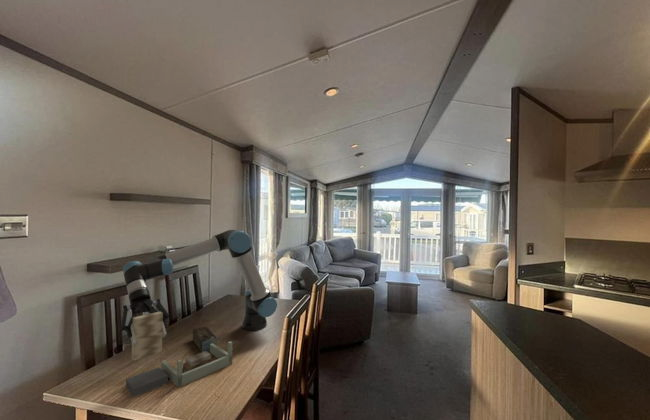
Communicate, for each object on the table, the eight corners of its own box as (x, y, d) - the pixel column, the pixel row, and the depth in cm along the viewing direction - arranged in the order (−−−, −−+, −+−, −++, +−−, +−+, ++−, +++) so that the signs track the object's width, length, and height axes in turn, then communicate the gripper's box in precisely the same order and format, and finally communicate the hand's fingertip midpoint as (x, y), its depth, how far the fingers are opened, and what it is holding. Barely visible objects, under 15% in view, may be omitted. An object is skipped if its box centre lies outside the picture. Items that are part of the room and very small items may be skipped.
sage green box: (212, 351, 143) (212, 331, 143) (232, 363, 131) (232, 342, 131) (160, 370, 125) (161, 347, 125) (178, 387, 113) (178, 361, 113)
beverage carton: (201, 353, 140) (201, 340, 141) (192, 340, 156) (192, 328, 156) (217, 349, 145) (217, 336, 146) (207, 336, 161) (207, 325, 161)
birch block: (159, 349, 119) (160, 311, 119) (161, 351, 117) (162, 313, 117) (131, 358, 111) (132, 317, 112) (133, 360, 109) (135, 319, 110)
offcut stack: (206, 363, 131) (206, 350, 131) (212, 367, 127) (213, 354, 128) (182, 372, 123) (182, 358, 123) (188, 377, 119) (188, 363, 119)
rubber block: (158, 374, 122) (158, 367, 122) (167, 383, 115) (167, 375, 115) (125, 386, 113) (126, 379, 113) (133, 397, 106) (133, 389, 106)
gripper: (164, 292, 133) (176, 335, 123) (104, 303, 116) (113, 354, 105) (168, 283, 130) (182, 326, 119) (108, 293, 113) (118, 344, 102)
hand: (150, 339), depth 112 cm, fingers closed on birch block, 10 cm apart
